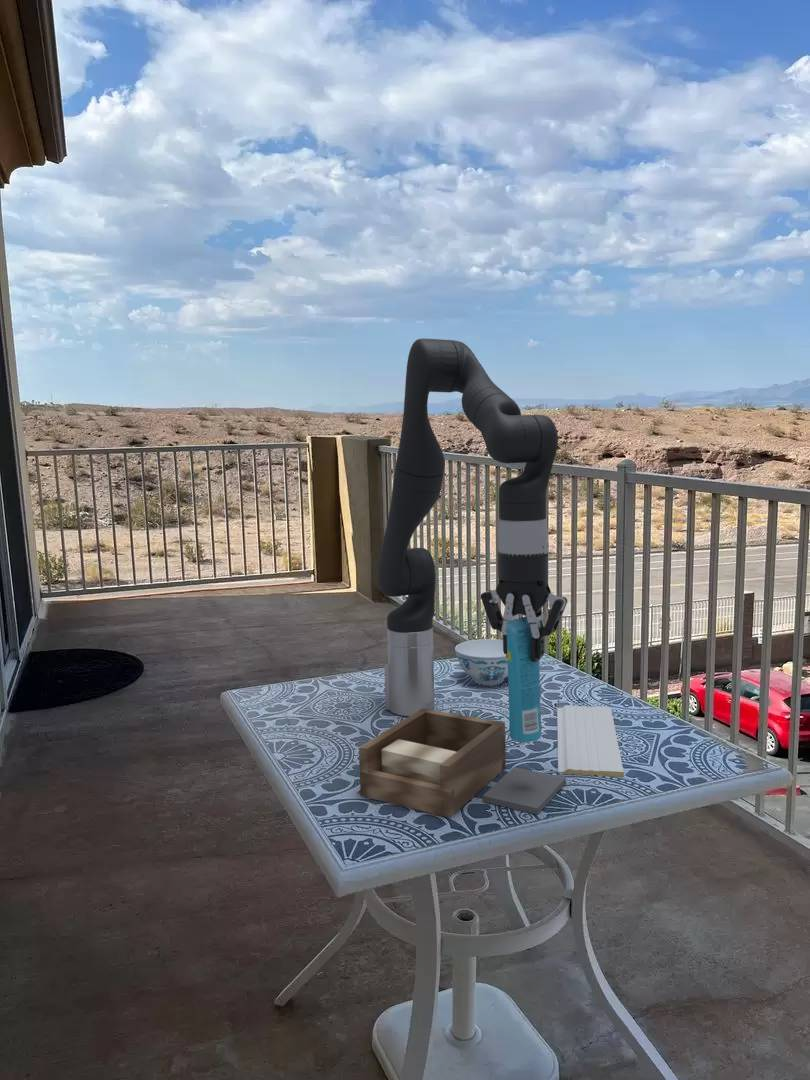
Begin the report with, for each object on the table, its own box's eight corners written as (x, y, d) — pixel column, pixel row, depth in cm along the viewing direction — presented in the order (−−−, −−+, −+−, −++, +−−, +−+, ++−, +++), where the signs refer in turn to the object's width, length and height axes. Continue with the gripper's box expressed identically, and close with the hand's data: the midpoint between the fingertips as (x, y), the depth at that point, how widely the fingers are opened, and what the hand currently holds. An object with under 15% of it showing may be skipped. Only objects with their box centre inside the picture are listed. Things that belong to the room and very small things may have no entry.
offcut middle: (382, 778, 131) (382, 764, 131) (399, 767, 136) (398, 752, 135) (442, 793, 126) (442, 777, 125) (458, 781, 130) (457, 765, 129)
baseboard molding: (549, 776, 137) (623, 780, 135) (549, 760, 136) (623, 764, 134) (549, 711, 167) (610, 714, 165) (550, 698, 167) (611, 700, 164)
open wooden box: (360, 795, 130) (358, 747, 129) (423, 751, 147) (422, 708, 146) (449, 818, 122) (448, 766, 121) (505, 768, 139) (505, 722, 138)
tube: (524, 727, 133) (522, 610, 130) (550, 733, 130) (549, 614, 127) (498, 741, 127) (496, 619, 125) (525, 748, 124) (523, 624, 122)
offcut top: (382, 764, 131) (381, 749, 130) (399, 753, 135) (398, 739, 134) (442, 779, 125) (441, 763, 124) (458, 767, 129) (457, 751, 129)
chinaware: (529, 673, 191) (528, 641, 190) (513, 694, 177) (513, 659, 176) (467, 668, 196) (466, 637, 195) (447, 687, 182) (446, 654, 181)
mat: (482, 801, 127) (482, 795, 127) (514, 772, 137) (514, 767, 137) (537, 814, 122) (537, 808, 122) (565, 783, 133) (565, 777, 132)
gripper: (469, 549, 125) (471, 659, 127) (558, 555, 118) (558, 671, 120) (490, 542, 131) (492, 647, 134) (576, 547, 124) (576, 658, 126)
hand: (523, 658), depth 127 cm, fingers closed on tube, 3 cm apart
